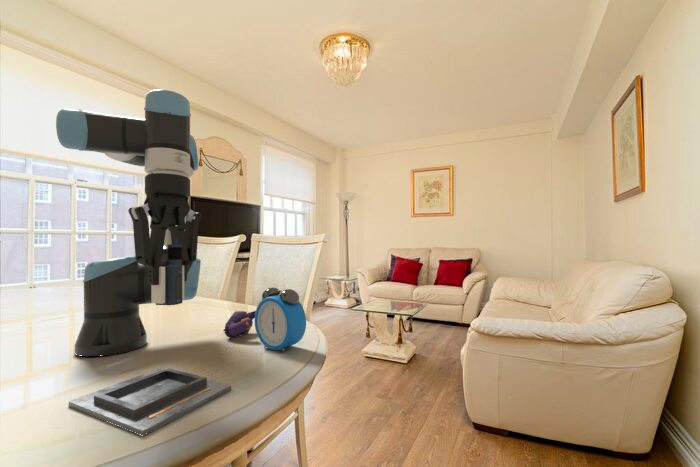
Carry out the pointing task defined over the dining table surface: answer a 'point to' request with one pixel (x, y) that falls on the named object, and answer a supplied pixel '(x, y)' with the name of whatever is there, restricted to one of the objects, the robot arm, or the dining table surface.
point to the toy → (239, 324)
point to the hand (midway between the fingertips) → (168, 301)
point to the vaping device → (173, 274)
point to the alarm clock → (280, 319)
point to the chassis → (150, 399)
